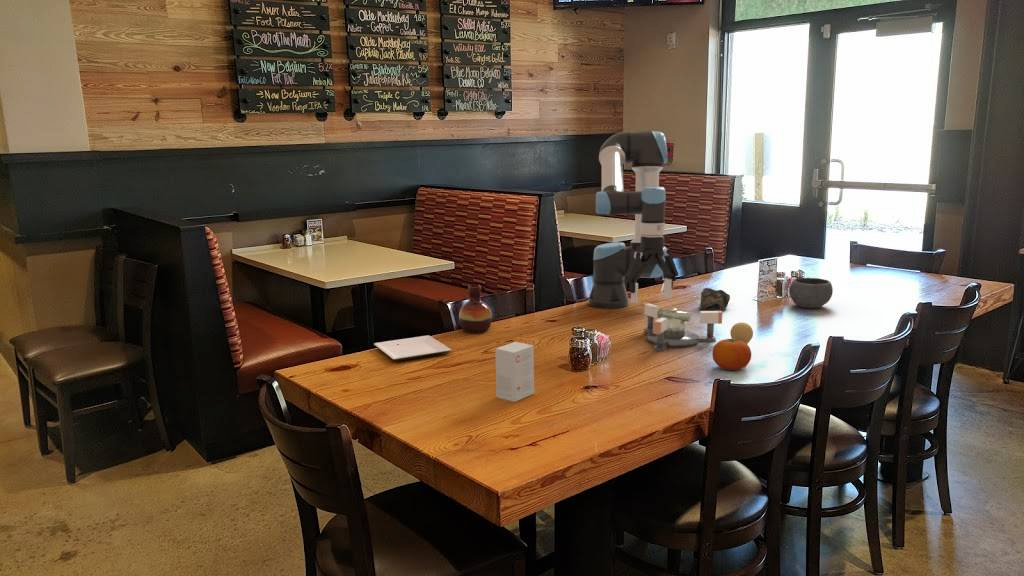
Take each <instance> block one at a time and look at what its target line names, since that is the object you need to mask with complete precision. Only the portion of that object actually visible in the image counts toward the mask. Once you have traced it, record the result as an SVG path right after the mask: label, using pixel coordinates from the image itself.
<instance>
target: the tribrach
mask: <svg viewBox="0 0 1024 576" xmlns="http://www.w3.org/2000/svg"><path fill="white" fill-rule="evenodd" d="M661 317H662V318H668V319H667V330H665V331H664V336H663V346H657V334H653V329H647V328H644V329H643V332H644V333H645V334H647V342H648V343H650V344H652V345H654V346H653V349H652V350H653V351H658V352H665V350H667V349H668V348H675V349H676V348H677V349H679V348H690V347H694V346H697V345H698V344H699V343H700V342H702V343H703V342H706V343H707V342H710V343H712V342H716V343H717V341H716V340H717V339H716V338H717V337H715V336H714V335H713V337H707V335H698V334H697V333H696V332H692V331H690V330H689V331H688V330H686V329H685V328H686V323H687V322H690V321H691V317H692V314H691V312H686V311H678V308H676V307H675V308H670V310H669V309H661V308H660V309H659V310H658V312H657V317H656V318H658V319H659V318H661Z"/></svg>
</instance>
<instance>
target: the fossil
mask: <svg viewBox="0 0 1024 576" xmlns="http://www.w3.org/2000/svg"><path fill="white" fill-rule="evenodd" d="M730 300H731V296H730V294H728V293H727V292H726V291H724V290H723V289H718V290H717V289H713V288H710V287H705V288H703V289H702V291H701V292H700V304H699V307H700V309H701V310H702V311H705V309H707V308H708V307H710V306H716V307H719V310H720V311H722V312H724V311H726V310H727V307H728V305H729V303H730Z"/></svg>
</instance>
